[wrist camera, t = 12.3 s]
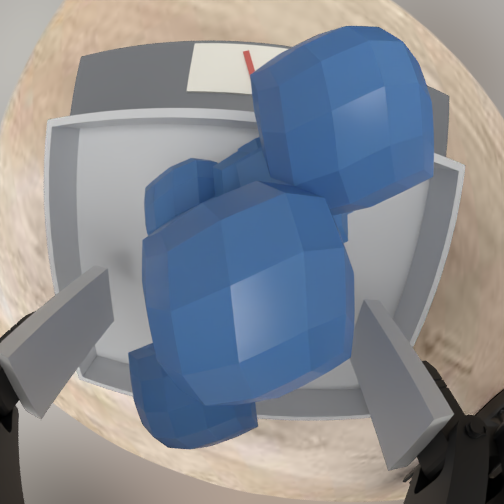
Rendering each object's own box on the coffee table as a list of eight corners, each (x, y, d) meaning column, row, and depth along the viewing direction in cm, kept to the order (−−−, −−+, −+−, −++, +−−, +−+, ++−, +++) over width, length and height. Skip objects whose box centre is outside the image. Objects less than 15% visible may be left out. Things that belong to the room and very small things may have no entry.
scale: (424, 102, 14) (481, 89, 8) (362, 366, 21) (383, 420, 15) (104, 67, 14) (51, 44, 8) (104, 334, 20) (70, 379, 15)
